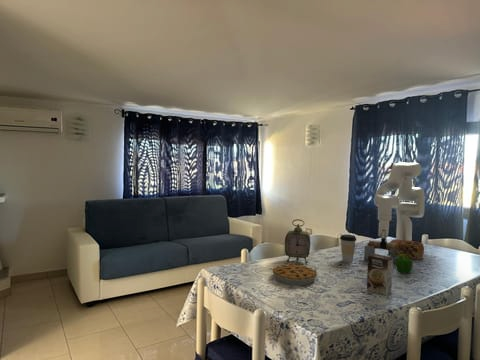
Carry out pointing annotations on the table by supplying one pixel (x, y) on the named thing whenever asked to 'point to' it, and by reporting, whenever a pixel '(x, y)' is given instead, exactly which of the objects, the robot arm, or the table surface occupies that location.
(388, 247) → the brown cylinder
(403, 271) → the bell pepper
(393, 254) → the saddle bracket
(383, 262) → the coffee box
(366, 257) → the box
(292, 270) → the pie
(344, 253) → the coffee cup
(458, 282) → the table surface
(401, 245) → the bread
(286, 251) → the tabletop clock
